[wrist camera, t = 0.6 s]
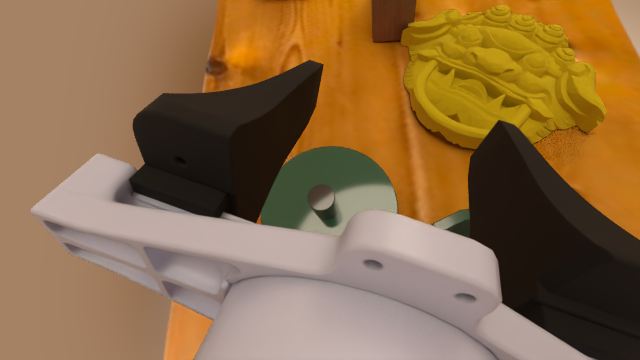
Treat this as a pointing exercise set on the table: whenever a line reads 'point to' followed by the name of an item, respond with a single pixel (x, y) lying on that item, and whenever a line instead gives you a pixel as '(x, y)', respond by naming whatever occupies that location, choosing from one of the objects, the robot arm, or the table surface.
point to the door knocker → (497, 76)
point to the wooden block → (391, 18)
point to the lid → (327, 191)
